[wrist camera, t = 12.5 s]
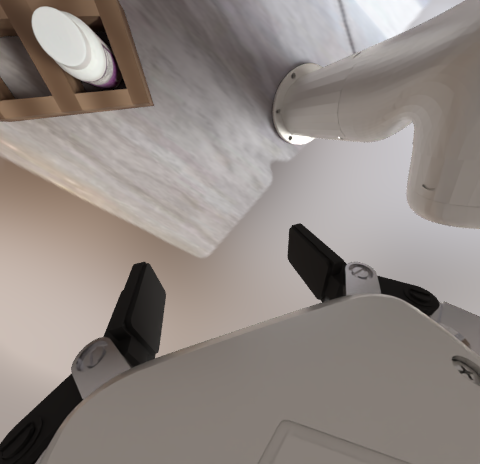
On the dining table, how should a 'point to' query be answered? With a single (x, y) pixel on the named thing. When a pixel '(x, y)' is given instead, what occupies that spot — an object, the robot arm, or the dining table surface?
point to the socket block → (58, 80)
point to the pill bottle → (76, 47)
